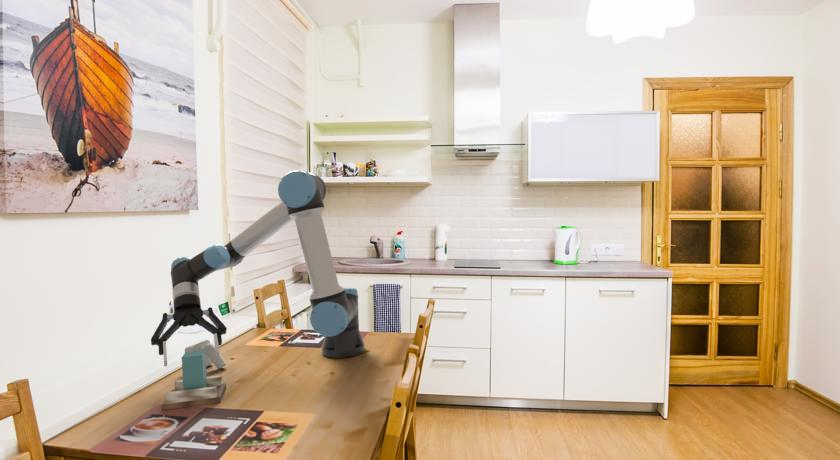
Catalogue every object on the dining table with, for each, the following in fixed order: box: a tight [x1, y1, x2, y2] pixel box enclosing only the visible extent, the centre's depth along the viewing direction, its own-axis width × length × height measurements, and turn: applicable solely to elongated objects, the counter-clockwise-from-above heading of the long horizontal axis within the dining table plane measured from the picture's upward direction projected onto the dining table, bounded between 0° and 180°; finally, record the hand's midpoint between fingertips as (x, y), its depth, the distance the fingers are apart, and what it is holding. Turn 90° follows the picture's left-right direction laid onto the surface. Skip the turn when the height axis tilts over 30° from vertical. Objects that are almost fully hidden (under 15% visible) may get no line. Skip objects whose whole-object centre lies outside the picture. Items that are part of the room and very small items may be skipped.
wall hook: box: [184, 339, 227, 370], centre depth 145 cm, size 8×10×10 cm
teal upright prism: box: [181, 350, 208, 390], centre depth 121 cm, size 5×4×11 cm
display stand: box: [161, 374, 227, 411], centre depth 121 cm, size 14×10×4 cm
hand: (192, 359), depth 129 cm, fingers open, 13 cm apart
